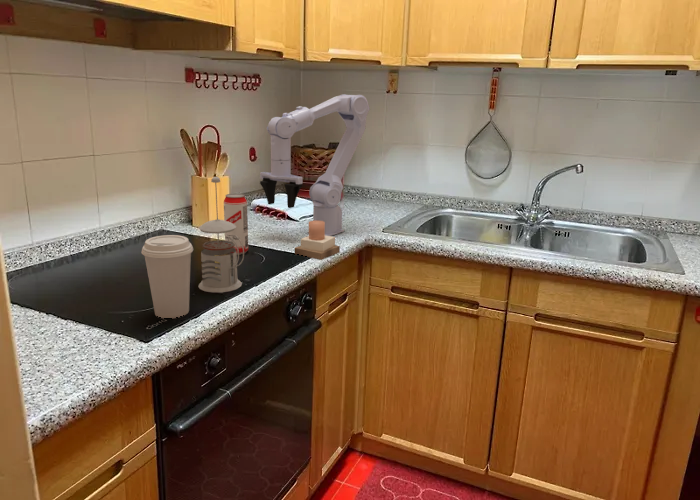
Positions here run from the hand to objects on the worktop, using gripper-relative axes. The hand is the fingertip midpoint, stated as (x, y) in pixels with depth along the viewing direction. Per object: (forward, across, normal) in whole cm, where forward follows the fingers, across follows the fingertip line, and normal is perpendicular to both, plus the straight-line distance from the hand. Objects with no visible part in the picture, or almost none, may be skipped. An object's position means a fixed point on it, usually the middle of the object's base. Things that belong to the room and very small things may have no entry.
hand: (280, 205), depth 159 cm
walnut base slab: (+11, +17, -5) cm, 21 cm away
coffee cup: (+11, +18, -56) cm, 60 cm away
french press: (+11, +15, -39) cm, 43 cm away
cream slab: (+9, +17, -5) cm, 20 cm away
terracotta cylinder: (+6, +17, -5) cm, 19 cm away
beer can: (+11, -1, -18) cm, 21 cm away
